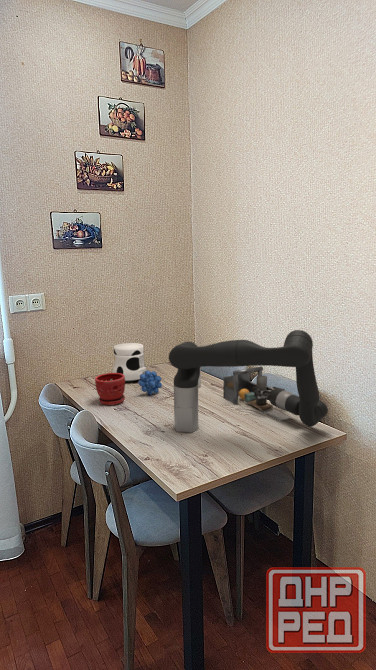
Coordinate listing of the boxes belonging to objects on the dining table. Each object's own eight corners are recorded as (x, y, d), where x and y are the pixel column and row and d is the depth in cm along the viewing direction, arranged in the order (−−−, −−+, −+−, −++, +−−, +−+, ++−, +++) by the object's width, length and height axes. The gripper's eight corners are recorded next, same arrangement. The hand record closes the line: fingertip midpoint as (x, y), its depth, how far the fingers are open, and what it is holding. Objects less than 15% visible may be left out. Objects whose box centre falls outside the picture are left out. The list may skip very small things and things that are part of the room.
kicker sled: (272, 407, 191) (273, 378, 189) (261, 409, 189) (262, 380, 186) (255, 399, 202) (256, 371, 199) (244, 401, 199) (244, 373, 196)
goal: (262, 399, 205) (263, 367, 202) (235, 404, 198) (235, 371, 195) (249, 392, 213) (249, 362, 210) (222, 398, 206) (222, 366, 203)
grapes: (142, 399, 206) (141, 374, 204) (137, 395, 212) (136, 370, 210) (165, 395, 211) (165, 370, 209) (160, 391, 217) (159, 367, 215)
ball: (239, 393, 208) (244, 402, 205) (235, 391, 204) (239, 401, 201) (248, 387, 206) (253, 397, 204) (244, 385, 202) (249, 395, 200)
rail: (291, 419, 181) (291, 417, 181) (281, 421, 179) (281, 419, 178) (268, 408, 193) (269, 406, 193) (259, 410, 191) (259, 409, 190)
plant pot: (112, 395, 212) (111, 370, 210) (131, 401, 204) (130, 375, 202) (90, 402, 203) (88, 377, 200) (109, 409, 194) (108, 382, 192)
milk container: (111, 376, 243) (109, 343, 240) (142, 373, 248) (141, 341, 245) (115, 385, 227) (114, 350, 223) (149, 382, 232) (148, 348, 228)
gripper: (297, 388, 182) (270, 377, 197) (269, 393, 176) (244, 382, 190) (297, 405, 184) (270, 393, 198) (269, 412, 177) (243, 399, 192)
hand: (257, 388), depth 194 cm, fingers closed on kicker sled, 4 cm apart
